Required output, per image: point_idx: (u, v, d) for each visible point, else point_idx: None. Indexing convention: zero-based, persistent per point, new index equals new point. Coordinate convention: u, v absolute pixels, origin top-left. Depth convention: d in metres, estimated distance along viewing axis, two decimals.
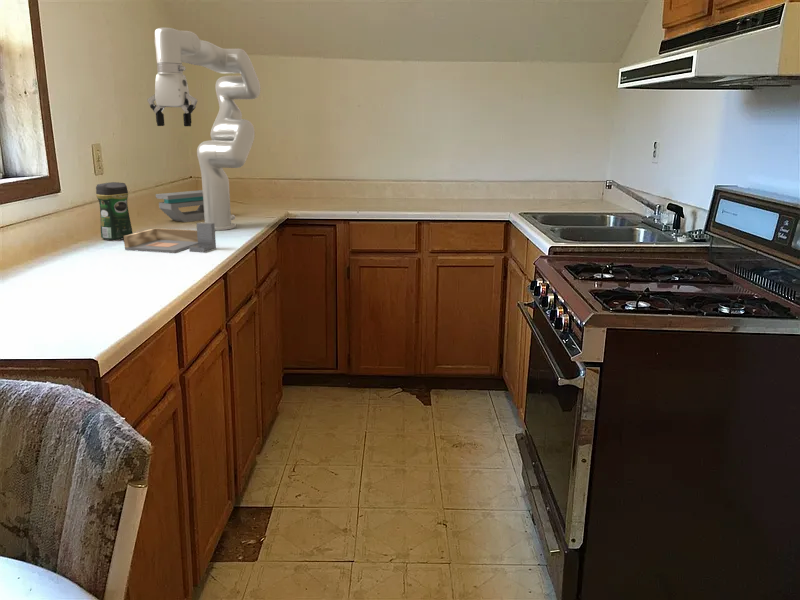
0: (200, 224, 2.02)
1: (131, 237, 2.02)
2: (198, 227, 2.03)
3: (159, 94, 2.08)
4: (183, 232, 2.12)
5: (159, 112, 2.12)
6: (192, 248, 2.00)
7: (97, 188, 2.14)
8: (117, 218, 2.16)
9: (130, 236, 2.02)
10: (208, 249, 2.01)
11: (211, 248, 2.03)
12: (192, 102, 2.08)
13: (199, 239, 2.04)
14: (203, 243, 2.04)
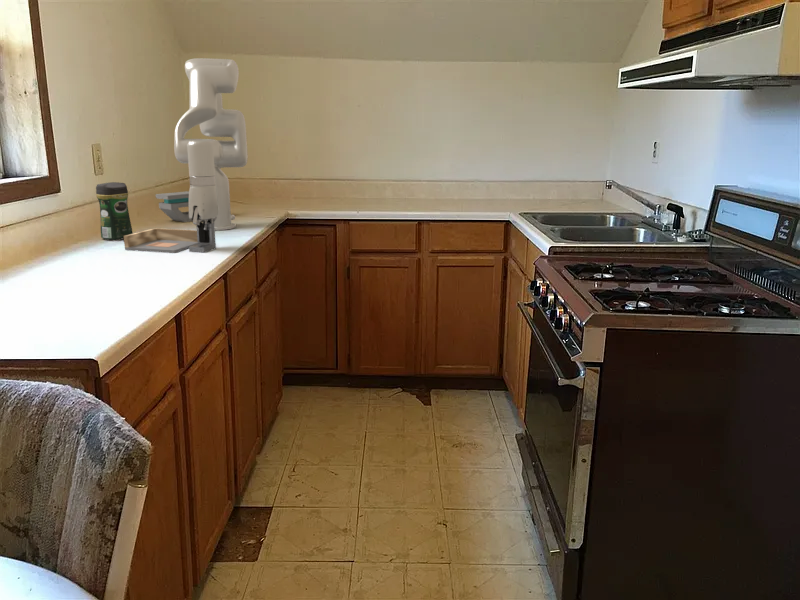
0: None
1: (131, 237, 2.02)
2: None
3: (205, 208, 1.98)
4: (183, 232, 2.12)
5: None
6: (192, 248, 1.99)
7: (97, 188, 2.14)
8: (117, 218, 2.16)
9: (130, 236, 2.02)
10: (208, 248, 2.01)
11: (211, 248, 2.03)
12: (214, 218, 2.07)
13: None
14: (203, 243, 2.04)
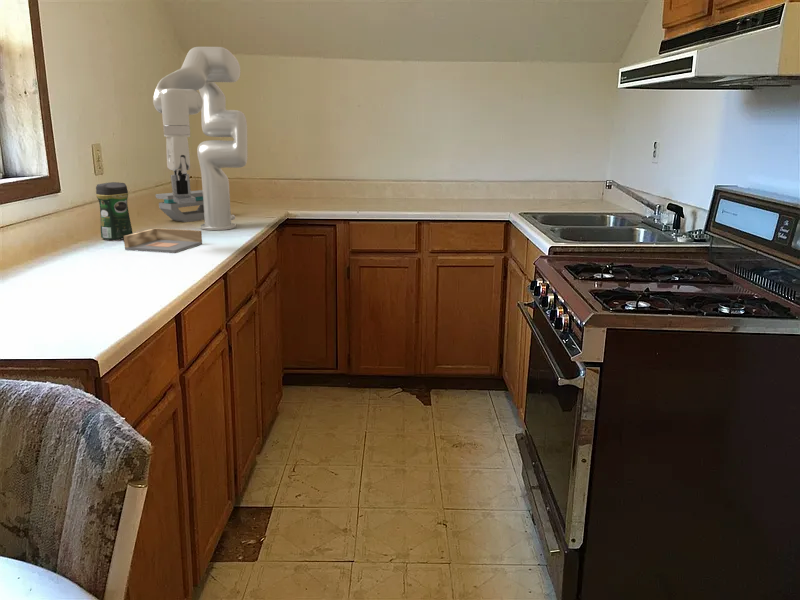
0: (176, 176, 1.98)
1: (131, 237, 2.02)
2: (174, 179, 1.98)
3: None
4: (183, 232, 2.12)
5: None
6: (182, 200, 1.96)
7: (97, 188, 2.14)
8: (117, 218, 2.16)
9: (130, 236, 2.02)
10: None
11: None
12: None
13: (176, 192, 1.99)
14: (180, 195, 2.00)
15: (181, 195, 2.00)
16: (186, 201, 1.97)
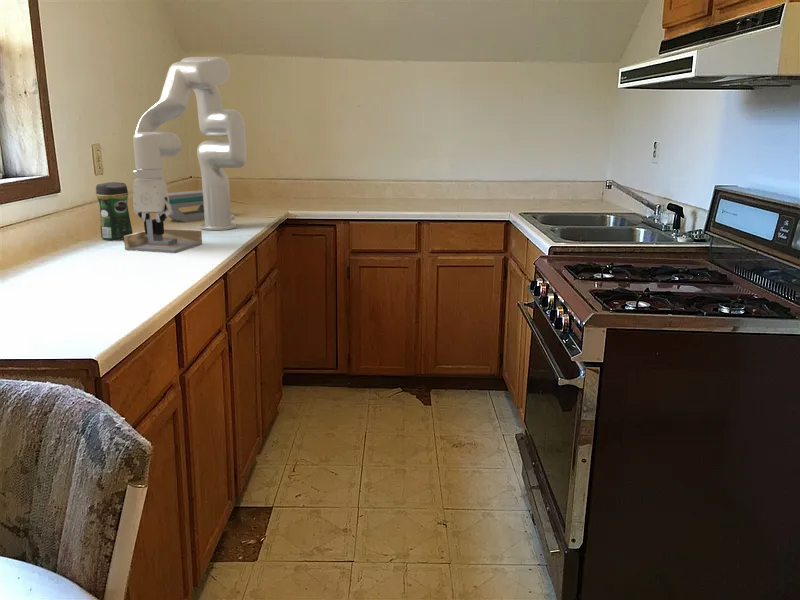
0: (154, 220, 2.03)
1: (131, 237, 2.02)
2: (153, 223, 2.03)
3: None
4: (183, 232, 2.12)
5: None
6: (170, 242, 2.04)
7: (97, 188, 2.14)
8: (117, 218, 2.16)
9: (130, 236, 2.02)
10: None
11: None
12: None
13: (154, 235, 2.04)
14: (157, 238, 2.05)
15: (157, 238, 2.05)
16: (172, 243, 2.05)
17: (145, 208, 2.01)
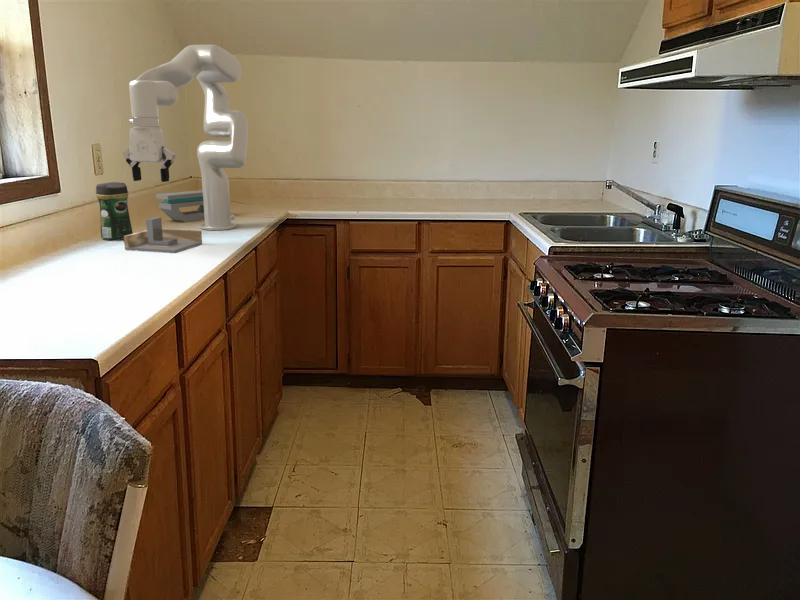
0: (154, 220, 2.03)
1: (131, 237, 2.02)
2: (153, 223, 2.03)
3: None
4: (183, 232, 2.12)
5: None
6: (170, 242, 2.04)
7: (97, 188, 2.14)
8: (117, 218, 2.16)
9: (130, 236, 2.02)
10: None
11: None
12: None
13: (154, 235, 2.04)
14: (157, 238, 2.05)
15: (157, 238, 2.05)
16: (172, 243, 2.05)
17: (142, 157, 1.98)
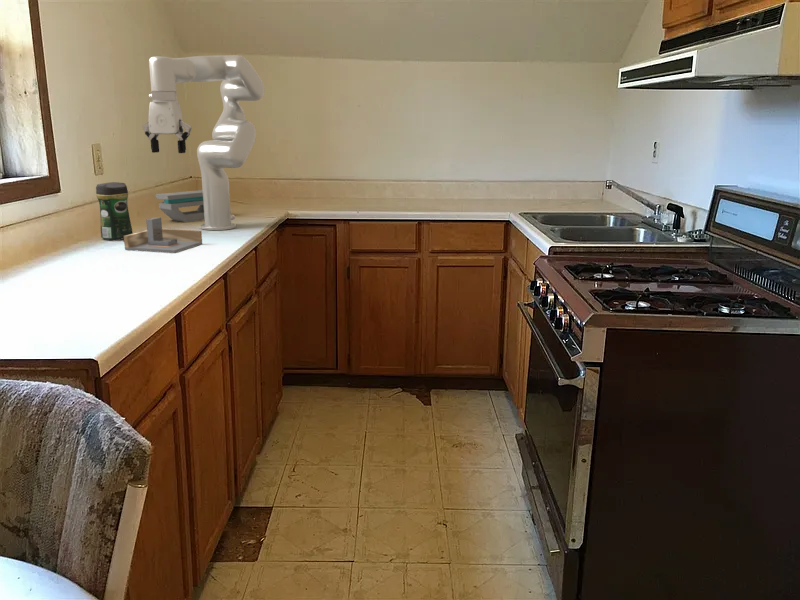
0: (154, 220, 2.03)
1: (131, 237, 2.02)
2: (153, 223, 2.03)
3: None
4: (183, 232, 2.12)
5: None
6: (170, 242, 2.04)
7: (97, 188, 2.14)
8: (117, 218, 2.16)
9: (130, 236, 2.02)
10: None
11: None
12: None
13: (154, 235, 2.04)
14: (157, 238, 2.05)
15: (157, 238, 2.05)
16: (172, 243, 2.05)
17: (160, 130, 2.09)
